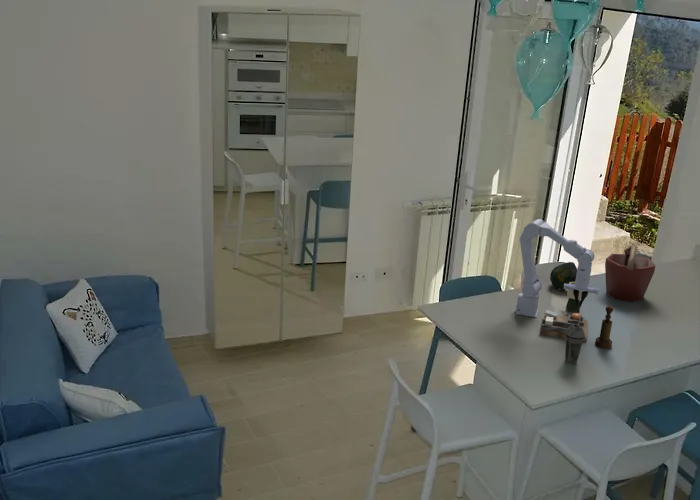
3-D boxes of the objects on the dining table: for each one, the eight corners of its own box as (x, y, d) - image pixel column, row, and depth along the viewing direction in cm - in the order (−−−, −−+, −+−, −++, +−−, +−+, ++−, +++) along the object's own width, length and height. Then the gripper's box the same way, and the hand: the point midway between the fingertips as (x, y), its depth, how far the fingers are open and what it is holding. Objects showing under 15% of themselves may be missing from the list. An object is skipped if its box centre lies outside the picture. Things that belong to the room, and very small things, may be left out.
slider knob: (544, 327, 299) (545, 320, 297) (545, 323, 303) (546, 316, 302) (551, 329, 298) (552, 321, 296) (552, 324, 302) (553, 317, 301)
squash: (540, 275, 352) (560, 260, 342) (555, 270, 362) (576, 255, 352) (555, 299, 347) (577, 284, 337) (570, 293, 357) (592, 278, 347)
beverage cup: (558, 357, 278) (565, 311, 272) (576, 357, 279) (583, 311, 272) (565, 365, 271) (572, 319, 265) (583, 365, 272) (591, 319, 265)
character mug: (587, 312, 323) (591, 286, 319) (578, 315, 319) (582, 289, 314) (567, 304, 331) (571, 279, 327) (558, 307, 327) (562, 282, 322)
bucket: (610, 283, 361) (618, 238, 353) (654, 294, 348) (663, 247, 341) (595, 297, 342) (603, 249, 334) (642, 309, 330) (651, 259, 322)
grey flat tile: (544, 314, 310) (545, 312, 310) (545, 311, 313) (546, 309, 313) (555, 318, 309) (556, 316, 308) (556, 315, 312) (557, 313, 312)
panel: (539, 333, 298) (541, 325, 297) (543, 316, 316) (545, 308, 315) (585, 342, 292) (587, 333, 291) (587, 324, 310) (588, 315, 309)
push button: (571, 318, 306) (572, 315, 305) (572, 315, 309) (572, 312, 309) (580, 320, 304) (581, 317, 304) (581, 317, 308) (581, 313, 307)
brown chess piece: (611, 343, 292) (618, 304, 286) (611, 350, 286) (618, 310, 280) (594, 340, 294) (601, 301, 288) (594, 347, 288) (601, 307, 282)
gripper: (565, 277, 299) (560, 306, 304) (600, 283, 295) (595, 312, 299) (566, 272, 306) (561, 300, 310) (600, 277, 301) (595, 306, 305)
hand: (578, 306), depth 305 cm, fingers closed
